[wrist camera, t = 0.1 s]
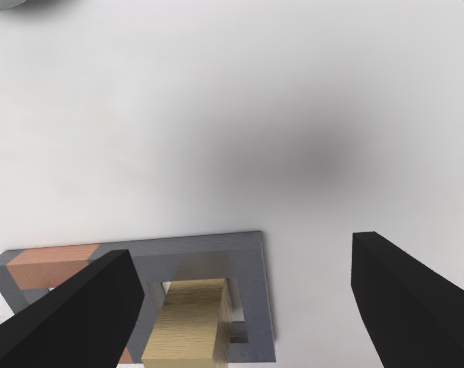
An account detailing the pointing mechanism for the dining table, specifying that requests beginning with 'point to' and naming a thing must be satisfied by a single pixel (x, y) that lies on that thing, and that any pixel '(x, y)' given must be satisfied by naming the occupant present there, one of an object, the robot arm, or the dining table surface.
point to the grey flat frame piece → (158, 282)
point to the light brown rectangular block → (192, 327)
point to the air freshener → (10, 3)
